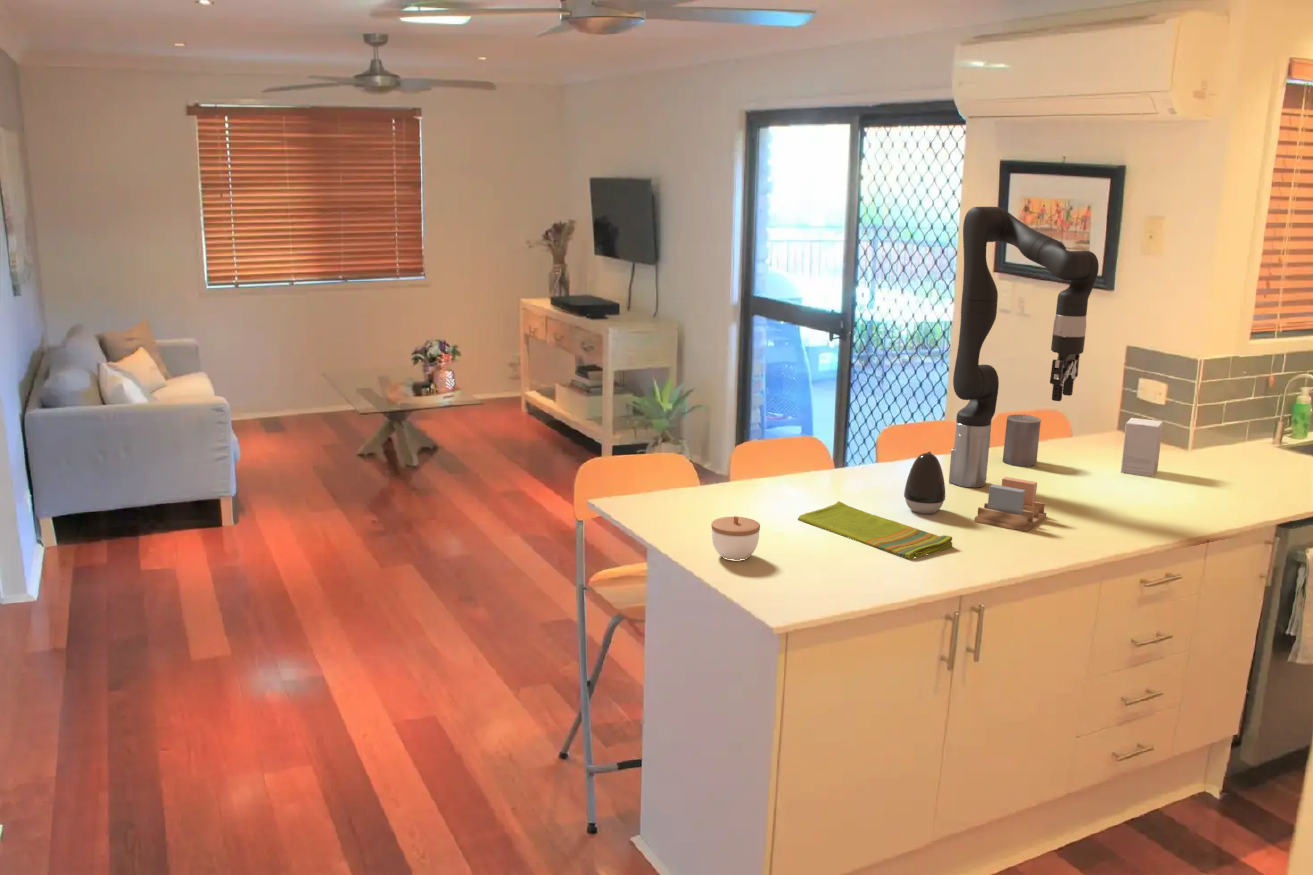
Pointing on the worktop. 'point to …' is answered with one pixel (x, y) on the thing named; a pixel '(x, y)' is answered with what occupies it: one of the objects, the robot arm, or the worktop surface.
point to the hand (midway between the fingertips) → (1061, 397)
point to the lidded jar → (735, 536)
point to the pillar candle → (1021, 440)
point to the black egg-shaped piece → (925, 485)
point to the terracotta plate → (1023, 488)
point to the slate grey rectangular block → (1006, 499)
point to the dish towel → (877, 531)
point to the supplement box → (1141, 446)
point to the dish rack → (1012, 517)
